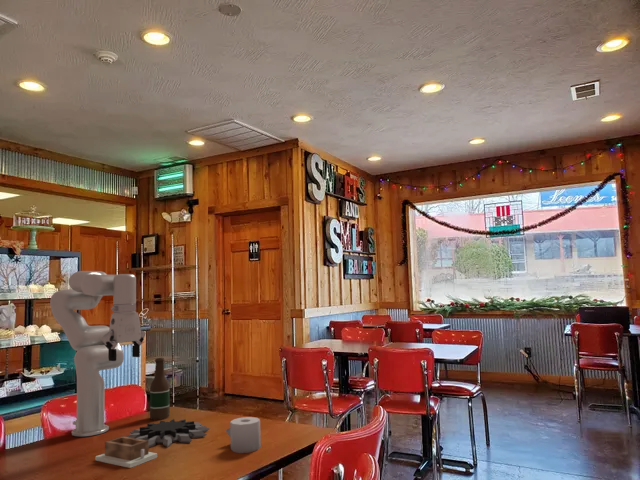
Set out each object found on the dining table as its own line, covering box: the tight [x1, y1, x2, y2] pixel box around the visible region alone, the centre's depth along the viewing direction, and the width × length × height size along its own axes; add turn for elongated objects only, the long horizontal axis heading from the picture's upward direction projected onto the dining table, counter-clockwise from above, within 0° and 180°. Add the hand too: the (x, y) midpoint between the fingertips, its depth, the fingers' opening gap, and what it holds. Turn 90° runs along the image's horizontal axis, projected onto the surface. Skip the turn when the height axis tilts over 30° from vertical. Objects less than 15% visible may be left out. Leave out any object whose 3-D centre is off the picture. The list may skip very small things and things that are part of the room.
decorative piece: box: [125, 418, 211, 449], centre depth 176 cm, size 30×4×30 cm
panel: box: [95, 449, 158, 469], centre depth 153 cm, size 16×10×4 cm, turn 60°
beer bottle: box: [149, 357, 171, 421], centre depth 205 cm, size 8×8×24 cm
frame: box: [104, 435, 149, 461], centre depth 153 cm, size 12×6×4 cm, turn 60°
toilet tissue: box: [225, 416, 262, 454], centre depth 161 cm, size 9×13×9 cm
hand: (124, 358), depth 173 cm, fingers open, 9 cm apart
